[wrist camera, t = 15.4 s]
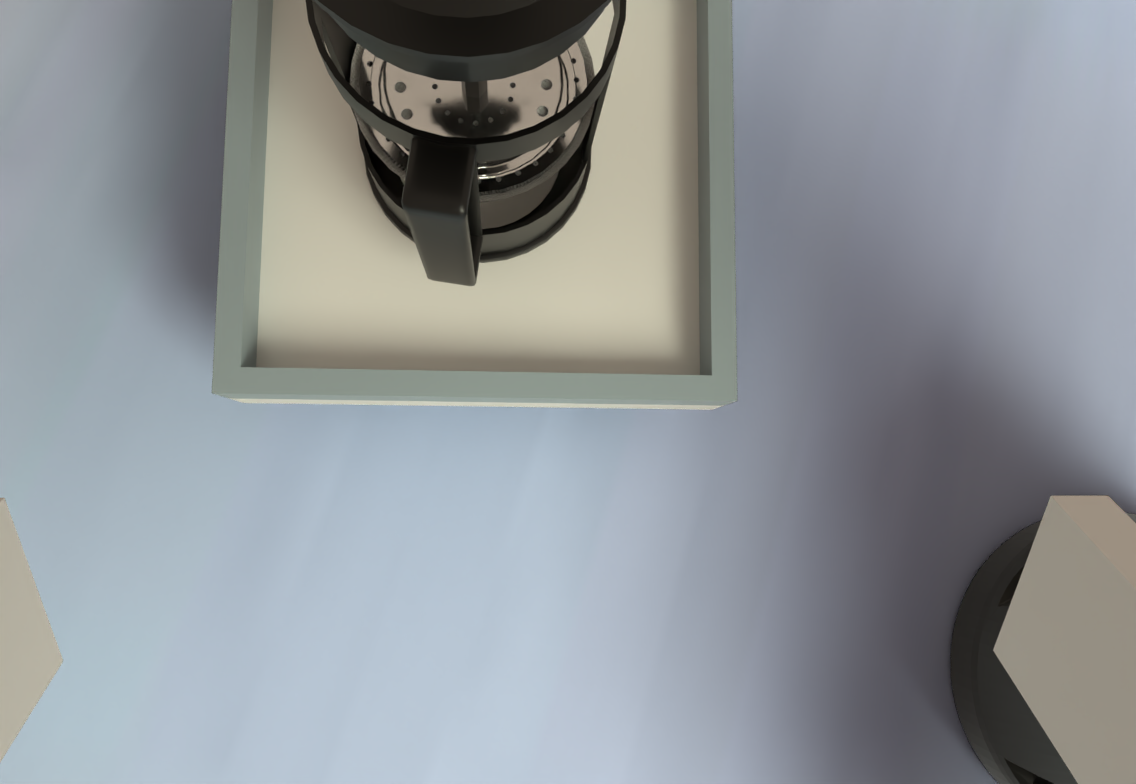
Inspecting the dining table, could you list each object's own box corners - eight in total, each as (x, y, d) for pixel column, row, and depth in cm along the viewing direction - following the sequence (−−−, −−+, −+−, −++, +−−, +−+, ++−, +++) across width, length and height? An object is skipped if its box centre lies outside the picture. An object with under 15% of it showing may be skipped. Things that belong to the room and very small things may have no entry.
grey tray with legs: (688, 25, 43) (730, -77, 35) (691, 416, 41) (737, 401, 33) (287, 5, 42) (237, -107, 34) (269, 410, 40) (211, 393, 32)
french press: (387, 14, 36) (191, -797, 13) (606, 52, 37) (782, -660, 14) (340, 284, 35) (29, -98, 12) (568, 319, 35) (693, 21, 12)
